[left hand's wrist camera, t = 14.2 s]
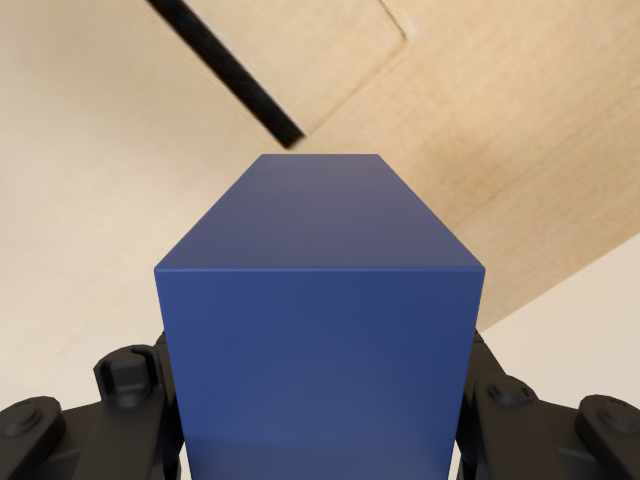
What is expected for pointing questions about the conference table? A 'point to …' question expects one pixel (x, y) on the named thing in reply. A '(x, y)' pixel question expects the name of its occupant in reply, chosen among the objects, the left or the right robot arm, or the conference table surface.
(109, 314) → the conference table surface
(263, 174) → the brick
